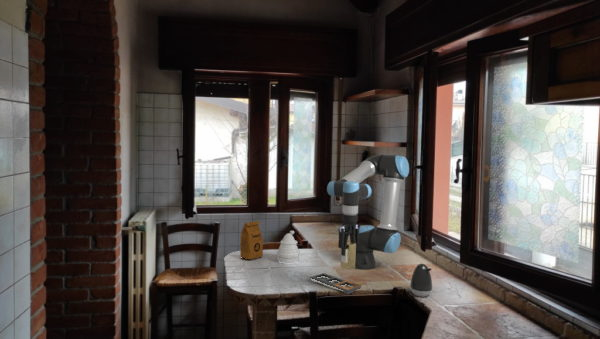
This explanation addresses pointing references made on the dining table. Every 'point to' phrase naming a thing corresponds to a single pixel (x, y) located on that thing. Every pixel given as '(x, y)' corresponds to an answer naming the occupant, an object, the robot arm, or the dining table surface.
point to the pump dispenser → (421, 281)
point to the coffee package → (251, 241)
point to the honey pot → (288, 249)
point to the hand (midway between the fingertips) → (348, 260)
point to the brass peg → (349, 256)
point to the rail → (338, 285)
